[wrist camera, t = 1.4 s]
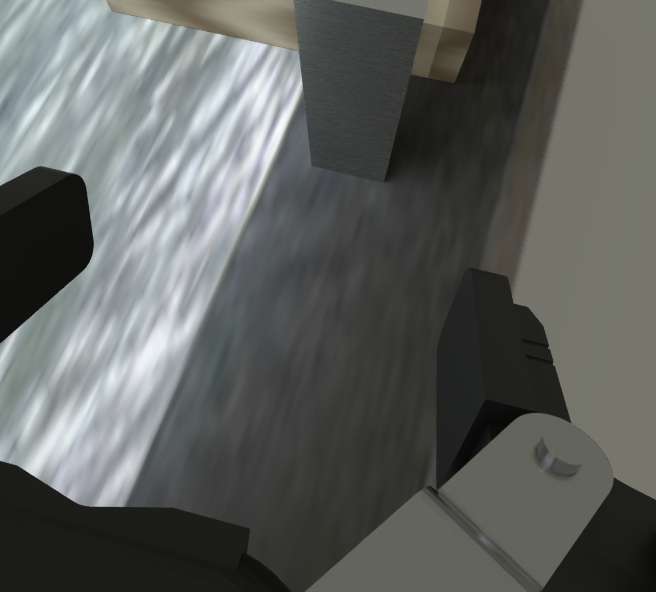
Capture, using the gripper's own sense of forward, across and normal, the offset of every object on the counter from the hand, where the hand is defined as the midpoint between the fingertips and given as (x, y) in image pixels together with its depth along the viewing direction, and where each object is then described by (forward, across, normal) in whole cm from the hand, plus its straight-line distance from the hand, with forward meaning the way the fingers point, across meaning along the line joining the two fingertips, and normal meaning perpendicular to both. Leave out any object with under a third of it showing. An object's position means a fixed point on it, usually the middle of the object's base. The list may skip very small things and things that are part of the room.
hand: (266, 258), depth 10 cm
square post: (+18, 0, +3) cm, 18 cm away
